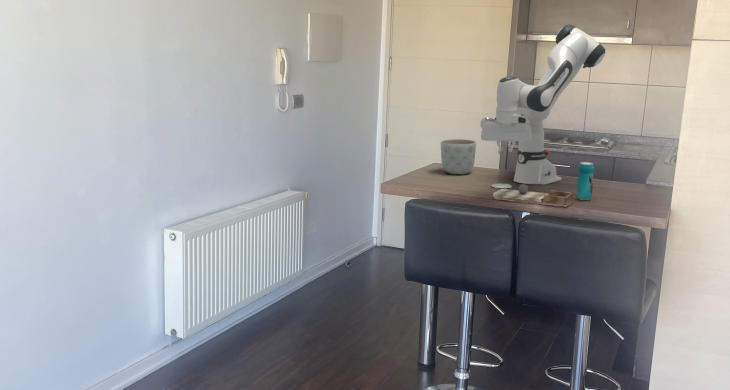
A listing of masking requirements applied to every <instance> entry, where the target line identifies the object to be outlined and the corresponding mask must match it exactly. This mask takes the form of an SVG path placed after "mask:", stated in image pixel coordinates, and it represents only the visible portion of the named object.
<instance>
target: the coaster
mask: <svg viewBox="0 0 730 390" xmlns="http://www.w3.org/2000/svg"><path fill="white" fill-rule="evenodd" d="M491 186H492V187H495V188H505V189H506V188H510V189H512V188H513V186H512V185H511V184H509V183H492V184H491V185H490V187H491ZM492 187H491V188H492Z"/></svg>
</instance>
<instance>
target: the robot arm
mask: <svg viewBox="0 0 730 390" xmlns="http://www.w3.org/2000/svg"><path fill="white" fill-rule="evenodd" d="M554 39H555V43H556V45H554V47H553V48H552V49H551V50H550V51H549V53H548V55H547V59H546V60H547V61H546V62H547V64H548V67H549V68H548V69H547V71H546V72H545V73H544V74H543V75H542V77H541V78H540V79H539V81H538V84H537V85H534V84H533V85H532V84H527V83H525V82H522V81H521V80H520V79H519V77H517V76H506V77H502V78H501V79H499V80H498V83H497V89H496V104H497V105H496V108H495V117H484V118H482V119H481V120H480V127H481V133H480V139H481V140H482V141H486V142H487V141H490V142H491V141H494V142H496V145H497V147H498V149H499V150H498V151H499V153H504V147H503V146H501V142H511V146H510V147H508V153H513V148H514V146H516V142H518V150H517V153H516V158H517V162H516V165H515V166H516V167H515V173H514V176H513V182H516V183H519V184H525V185H550V184H551V183H556V182H559V181H562V180H563V178H562V177H561V176H559V175H558V174H557V168H556V165H555V164H553V163H552V162H550V160H548V159H547V157H549V156H550V155H551V151H550V150H546V151H545V150H544V149H545V147H544V146H545V145H544V144H545V131H544V125H543V124H544V122H543V121H544V120H546V119H547V118H548V117H549V115H550V113H551V110H552V109H553V107H554V105H555V104H556V103H557V101H558V99H559V98H560V96H561V94H562V93H563V92H564V91H565V89H566V88H567V87H568V86H569V85H570V84H571V82H572V81H573V80H574V78H575V77H576V76H577V75H578V73H579V72H580V71H581V70H580V69H581V68H582V69H586V68H589V69H590V68H594V67H596V66H598V65H599V64H600V63H601V62H602V61H603V59H604V58H605V54H606V47H604V46H603V45H602V44H601V43H599V42H598V41H597V40H596V39H595V38H594V37H592V36H591V35H590V34H588V33H586V32H585V31H583V30H581V29H579V28H578V27H577V26H576V25H573V24H570V23H569V24H566V25H564V26H562V27H561V28H560V29H559V30H558V32H557V34H556V37H555V38H554Z"/></svg>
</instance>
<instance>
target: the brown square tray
mask: <svg viewBox="0 0 730 390" xmlns="http://www.w3.org/2000/svg"><path fill="white" fill-rule="evenodd" d="M549 192H550V193H547V194H548V195H544V197H543V198H542V199H541V202H545V203H553V204H562V205H567V204H569V203H570V202H572V201H573V202H574V192H571V191H561V190H560V191H559V190H552V189H551V190H550V191H549Z"/></svg>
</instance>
